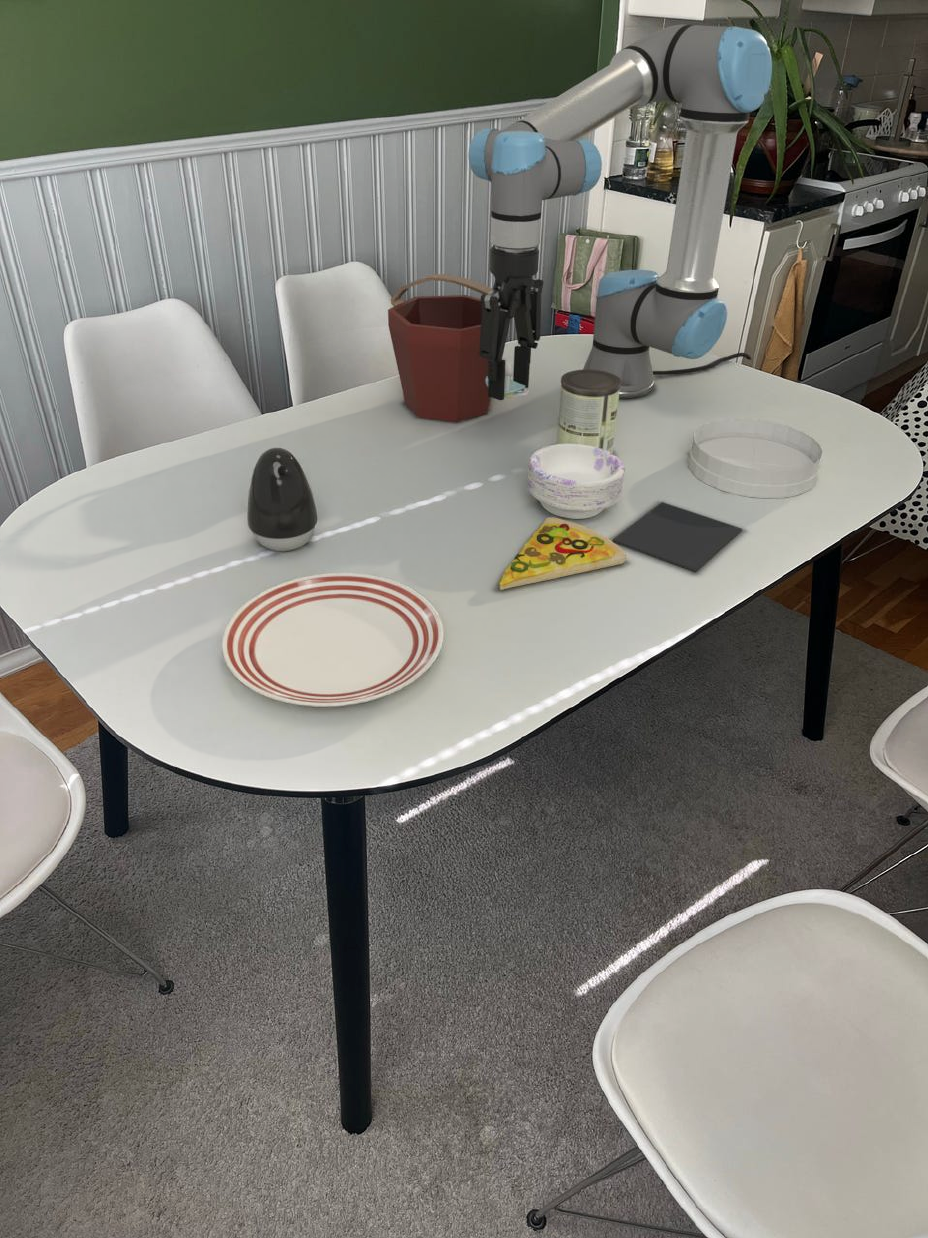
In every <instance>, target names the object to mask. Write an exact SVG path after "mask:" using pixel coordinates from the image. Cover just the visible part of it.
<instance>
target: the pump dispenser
mask: <svg viewBox="0 0 928 1238" xmlns="http://www.w3.org/2000/svg"><path fill="white" fill-rule="evenodd" d="M251 475H252V476H251V479H250V482H249V483H250V484H249V489H248V494H247V511H246V512H247V513H246V515H247V516H246V519H247V526H248V528H249V530H250V531H251V532H252V535H253V537H254V538H255V540H256V541H257V542H258V544H260V545H261V546H262V547H264V548H266V549H268V550H271V551H275V552H290V551H294V550H298V549H299V548H301V547H303V546H304V545H306V544H307V543H308V542H309V541H310V540H311V538H312V536H313V535H314V532H315V529H316V526H317V524H318V511H317V506H316V502H315V499H314V495H313V492H312V488H311V486H310V483H309V481H308V478H307V476H306V473H305V471H304V469H303V467H302V466H301V464H300V462H299V461H298V459H297V458H296V457H295V456H294V454H292V452H291V451H289V450H287V449H285V448H282V447H271V448H268V449H266V450H265V451H263V452H262V454H261V455H260V456H259V457H258V459H257V461H256V463H255V465H254V468H253V471H252V474H251Z"/></svg>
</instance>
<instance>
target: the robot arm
mask: <svg viewBox="0 0 928 1238" xmlns="http://www.w3.org/2000/svg"><path fill="white" fill-rule="evenodd" d="M772 71H773V62H772V54H771V50H770V47H769V46H768V42H767V40H766V39H765V37H764V36H763V35H762V34H761V33H760V32H758V31H757V30H754V29H750V28H745V27H740V26H735V25H734V26H717V25H715V26H714V25H699V24H698V25H696V24H694V25H693V24H685V23H684V24H683V23H682V24H681V23H680V24H676V25H671V26H668V27H664V28H662V29H660V30H657V31H654V32H652V33H651V34H648V35H646V36H643V37H642V38H640V39H638V40H636V41H634V42H632V43H631V44H629V45H628V46H626V47H624V48H623V49H621V50H619V51H618V52H616V53H615V54H614V55H613V56H612V58H611V60H610V62H609V64H608V65H607V66H605V67H603V68H602V69H601V70H599V71H597V72H595V73H594V74H592V75H591V76H588V77H587V78H586V79H584V80H582V81H581V82H579V83H578V84H576V85H574V86H572V87H571V88H569V89H568V90H566V91H564V92H563V93H561V94H560V95H558V96H556V97H555V98H553V99H551V100H550V101H548V102H546V103H545V104H543V105H542V106H540V107H538V108H537V109H535V110H533V111H531V112H530V113H528V114H527V115H525V116H524V117H522V118H521V119H518V120H517V121H515V122H514V123H512V124H510V125H509V126H506V127H505V128H503V129H498V128H496V127H495V128H484V129H481V130H479V131H478V132H477V133H475V135H474V136H473V138H472V139H471V141H470V144H469V148H468V154H467V157H468V164H469V167H470V170H471V171H472V173H473V174H474V175H475V176H476V177H477V178H478V179H481V180H485V181H488V182H489V183H491V207H490V209H491V210H490V216H491V217H490V241H489V242H490V245H492V246H491V247H490V249H489V264H488V265H489V266H488V267H489V268H488V269H489V272H490V273H491V274H492V275H493V277H494V282H493V286H492V288H493V291H492V292H491V293H490V294H489V295H486V294H481V296H480V299H481V306H482V319H481V333H480V347H479V357H480V358H484V359H487V360H488V397H491V399H494V400H498V401H500V402H501V401H504V400H505V397H504V384H505V360H502V358H504V357H503V356H504V352H505V347H506V343H507V337H508V333H509V329H510V324H511V320H512V319H513V320H514V326H515V327H514V328H515V332H516V333H515V334H516V339H517V345H516V346H514V348H513V349H514V351H513V369H512V370H513V373H512V376H513V377H512V381H514V382H517V383H519V384H522V385H525V388H527V389H528V388H529V387H530V386H529V384H530V369H531V367H530V366H531V358H532V349H534V350H536V349H537V348H538V346H539V343H538V342H539V341H540V340H541V332H542V331H541V329H542V328H541V327H542V326H541V325H542V324H541V323H542V322H541V321H542V294H543V293H542V292H543V287H544V280H543V279H539V278H535V277H534V276H536V275H537V273H538V271H539V260H540V250H539V248H538V246H539V245H540V244H541V229H542V228H541V227H542V226H541V225H542V209H543V201H548V200H552V199H557V198H563V197H571V196H573V197H576V196H578V195H580V194H583V193H587V192H589V191H591V190H592V189H594V188H595V187H596V186H597V184H598V182H599V180H600V179H601V175H602V169H603V167H602V166H603V161H602V156H601V153H600V151H599V149H598V147H597V146H596V145H595V144H594V143H593V142H592V141H591V140H588V139H583V138H585V137H586V136H589V134H591V133H593V132H594V131H596V130H597V129H599V128H600V127H602V126H604V125H605V124H607V123H609V122H610V121H611V120H613V119H615V118H616V117H618V116H619V115H621V114H622V113H624V112H626V111H628V110H632V111H633V110H634V111H635V110H640V109H643V108H644V107H645V106H647V105H648V104H652V103H661V102H665V103H666V102H668V103H675V104H680V105H681V106H680V110H679V111H680V112H679V120H680V121H681V122H682V124H683V125H684V127H685V129H686V134H685V139H684V147H683V153H682V161H681V166H680V167H681V168H680V175H679V179H678V180H679V181H678V188H677V193H676V202H675V209H674V215H673V221H672V229H671V235H670V243H669V249H668V250H669V251H668V256H667V264H666V270H665V272H664V273H663V274H661V275H660V274H659V273H658V272H657V271H654V270H650V269H649V270H648V269H627V270H617V271H613V272H609V273H606V274H604V275H603V276H602V277H601V278H600V280H599V283H598V286H597V287H598V288H597V293H596V296H595V298H596V301H595V313H594V325H593V335H592V336H593V337H592V347H591V349H590V352H589V354H588V356H587V358H586V361H585V364H584V366H583V368H582V370H584V369H589V370H600V371H605V372H608V373H611V374H614V375H616V376H617V377H619V378H620V380H621V387H620V391H619V399H635V398H640V397H643V396H646V395H649V394H651V392H652V391H653V390H654V383H655V378H654V377H655V376H667V375H669V376H670V375H680V374H688V373H696V372H701V371H705V370H708V369H711V368H713V367H715V366H717V365H718V364H720V363H722V362H726V361H730V360H733V359H737V358H740V357H742V358H745V359H746V360H749V361H750V360H752V357H751V355H750V354H748V353H746V352H737V353H733V354H730V355H726V356H723V357H720V358H717V359H716V360H714V361H712V362H710V363H708V364H704V365H699V366H695V367H690V368H682V369H670V370H669V369H668V370H653V366H652V361H651V356H650V348H652V349H655V350H658V351H661V352H665V353H667V354H670V355H673V357H677V358H684V359H688V360H697V359H700V358H702V357H703V356H705V355H707V354H708V353H709V352H710V351H712V349H713V348H714V346H715V345H716V344H717V342H718V341H719V339H720V338H721V336H722V334H723V332H724V329H725V326H726V323H727V319H728V309H727V306H726V303H725V302H724V301H722V299H720V298H718V295H719V290H720V284H719V282H718V281H717V279H716V278H715V276H714V272H715V271H714V270H715V264H716V259H717V253H718V248H719V247H718V246H719V241H720V235H721V229H722V223H723V218H724V213H725V206H726V202H727V201H726V200H727V195H728V188H729V184H730V178H731V171H732V166H733V160H734V156H735V155H734V154H735V149H736V143H737V136H738V132H739V131H740V130H742V128H743V127H745V126H746V124H748V123H749V120H750V114H751V113H752V112H754V111H755V110H757V109H758V108H760V107H761V105H762V104H763V103H764V101H765V97H766V96H767V95H768V92H769V90H770V85H771V80H772V73H773V72H772ZM500 308H501V309H503V310H505V311H502V310H500ZM496 352H497V353H496Z"/></svg>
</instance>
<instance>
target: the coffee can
mask: <svg viewBox="0 0 928 1238" xmlns="http://www.w3.org/2000/svg"><path fill="white" fill-rule="evenodd" d="M560 384H561V385H560V398H559V412H558V413H559V414H558V426H557V438H556V439H557V440H556V444H582V445H588V446H593V447H597V448H600V449H603V450H606V451H608V452H610V453H612V454H614V442H615V436H616V435H615V434H616V426H617V417H618V408H619V407H618V406H619V400H620V398H619V391H620V387H621V380H620V378H619V377H617V376H616V375H614V374H611V373H608V372H605V371H600V370H589V369H584V370H583V369H576V370H572V371H568V372H565V373H564V374H563V375H562V376H561V377H560Z"/></svg>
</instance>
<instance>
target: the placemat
mask: <svg viewBox="0 0 928 1238" xmlns="http://www.w3.org/2000/svg"><path fill="white" fill-rule="evenodd" d="M742 531H743V528H742V527H738V526H735V525H732V524H729V523H726V522H723V521H721V520H717V519H714V518H711V517H708V516H704V515H703V514H699V513H696V512H693V511H691V510H687V509H684V508H681V507H678V506H675V505H673V504H669V503H666V502H664V501H662V502H660V503H659V504H658V505H656V506H655V507H654V508H653V509H651V510H650V511H649V512H647V513H646V514H645V515H643V516H642V517H641V518H640V519H638V520H637V521H635V522H633V524H631V525H630V526H629V527H628V528H626V529H624V531H622V532H621V533H619V534H618V535H617V536H616V537H615V538H613V539H612V542H613V543H615V544H616V545H621V546H623V547H625V548H628V549H632V550H634V551H637V552H639V553H641V554H645V555H647V556H650V557H653V558H656V559H658V560H661V561H664V562H667V563H669V564H673V565H674V566H677V567H680V568H683V569H686V570H689V571H691V572H694V573H697V572H698V571H699V570H700V569H701V568H702V567H703V566H705V565H706V564H707V563H708V562H709V561H710V560H711V559H713V557H715V556H716V555H717V554H718V553H719V552H720V551H721V550H722V549H724V548H725V547H726V546H727V545H728V544H729V543H730V542H731V541H732V540H733V539H735V538H736V537H737V536H738V535H739V534H740V533H742Z"/></svg>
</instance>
